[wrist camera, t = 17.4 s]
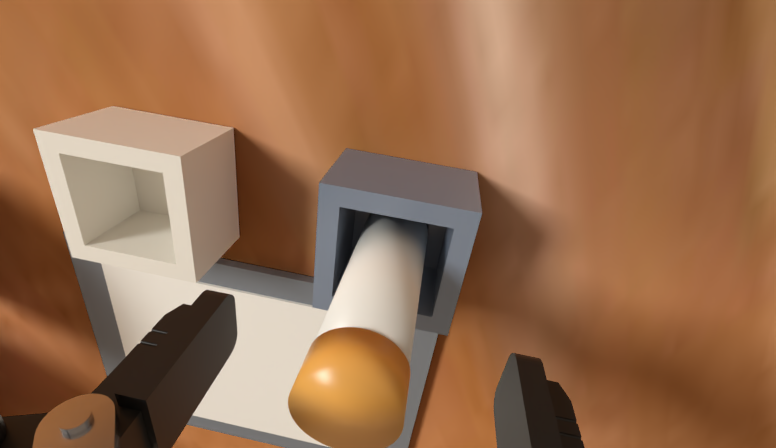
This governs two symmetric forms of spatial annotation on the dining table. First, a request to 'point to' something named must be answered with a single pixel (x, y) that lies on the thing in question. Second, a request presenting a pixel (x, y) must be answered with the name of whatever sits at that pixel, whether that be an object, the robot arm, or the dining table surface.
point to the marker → (365, 342)
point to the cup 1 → (143, 190)
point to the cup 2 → (406, 201)
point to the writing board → (253, 345)
